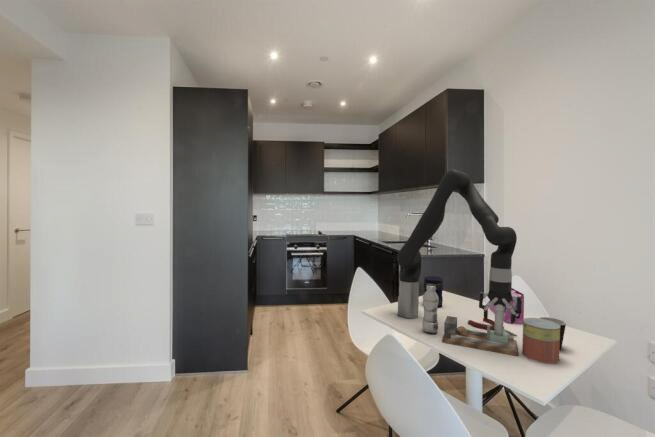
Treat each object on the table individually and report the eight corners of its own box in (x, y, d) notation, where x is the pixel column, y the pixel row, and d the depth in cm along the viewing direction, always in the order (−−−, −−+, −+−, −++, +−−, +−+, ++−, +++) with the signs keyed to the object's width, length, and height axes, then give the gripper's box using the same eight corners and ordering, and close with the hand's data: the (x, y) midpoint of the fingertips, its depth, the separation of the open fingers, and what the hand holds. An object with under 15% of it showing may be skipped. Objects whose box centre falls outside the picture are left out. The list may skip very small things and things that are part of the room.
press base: (442, 342, 128) (442, 323, 128) (445, 332, 139) (446, 314, 139) (518, 356, 117) (519, 335, 117) (516, 344, 128) (516, 325, 127)
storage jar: (420, 303, 182) (421, 276, 181) (437, 302, 183) (438, 276, 182) (428, 308, 172) (428, 280, 171) (445, 308, 173) (446, 280, 172)
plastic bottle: (430, 336, 135) (431, 287, 134) (418, 330, 141) (419, 284, 140) (441, 333, 138) (442, 286, 137) (429, 328, 144) (430, 282, 143)
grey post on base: (486, 343, 124) (487, 303, 123) (486, 336, 130) (487, 298, 129) (507, 346, 121) (509, 306, 120) (507, 340, 127) (508, 301, 126)
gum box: (525, 325, 149) (526, 295, 148) (507, 324, 150) (508, 294, 149) (504, 309, 172) (505, 283, 172) (488, 308, 173) (489, 283, 173)
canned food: (528, 346, 125) (529, 315, 125) (563, 357, 117) (564, 323, 116) (517, 355, 118) (518, 322, 117) (554, 366, 109) (555, 331, 109)
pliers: (504, 341, 131) (505, 335, 131) (466, 324, 150) (466, 319, 150) (524, 337, 135) (525, 331, 135) (485, 322, 154) (485, 316, 154)
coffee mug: (566, 353, 120) (566, 326, 119) (538, 348, 124) (538, 322, 124) (563, 342, 129) (564, 317, 129) (537, 337, 134) (538, 313, 134)
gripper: (479, 279, 124) (478, 321, 125) (523, 283, 118) (521, 328, 118) (480, 275, 131) (478, 315, 131) (521, 279, 124) (519, 321, 125)
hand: (499, 321), depth 125 cm, fingers open, 8 cm apart
